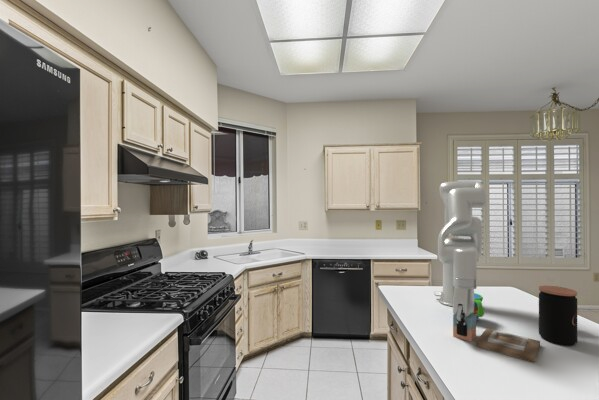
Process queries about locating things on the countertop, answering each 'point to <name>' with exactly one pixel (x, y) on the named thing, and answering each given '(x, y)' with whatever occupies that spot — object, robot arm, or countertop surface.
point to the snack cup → (478, 306)
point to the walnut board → (509, 344)
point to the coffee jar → (558, 315)
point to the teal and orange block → (470, 327)
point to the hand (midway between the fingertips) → (464, 331)
